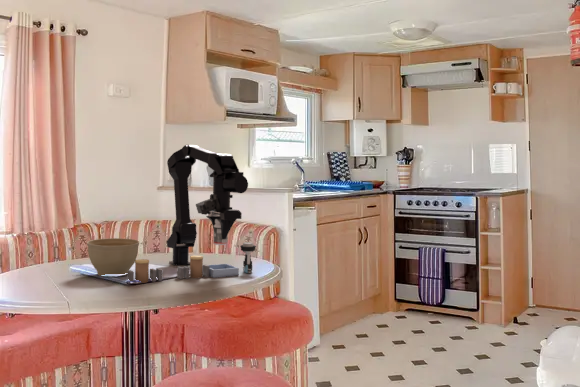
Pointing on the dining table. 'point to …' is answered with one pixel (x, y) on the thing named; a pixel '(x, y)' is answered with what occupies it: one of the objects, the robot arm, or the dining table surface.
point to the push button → (247, 256)
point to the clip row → (180, 273)
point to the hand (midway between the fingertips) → (220, 238)
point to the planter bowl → (112, 255)
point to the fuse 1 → (142, 270)
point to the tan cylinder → (196, 266)
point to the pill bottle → (219, 234)
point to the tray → (223, 270)
